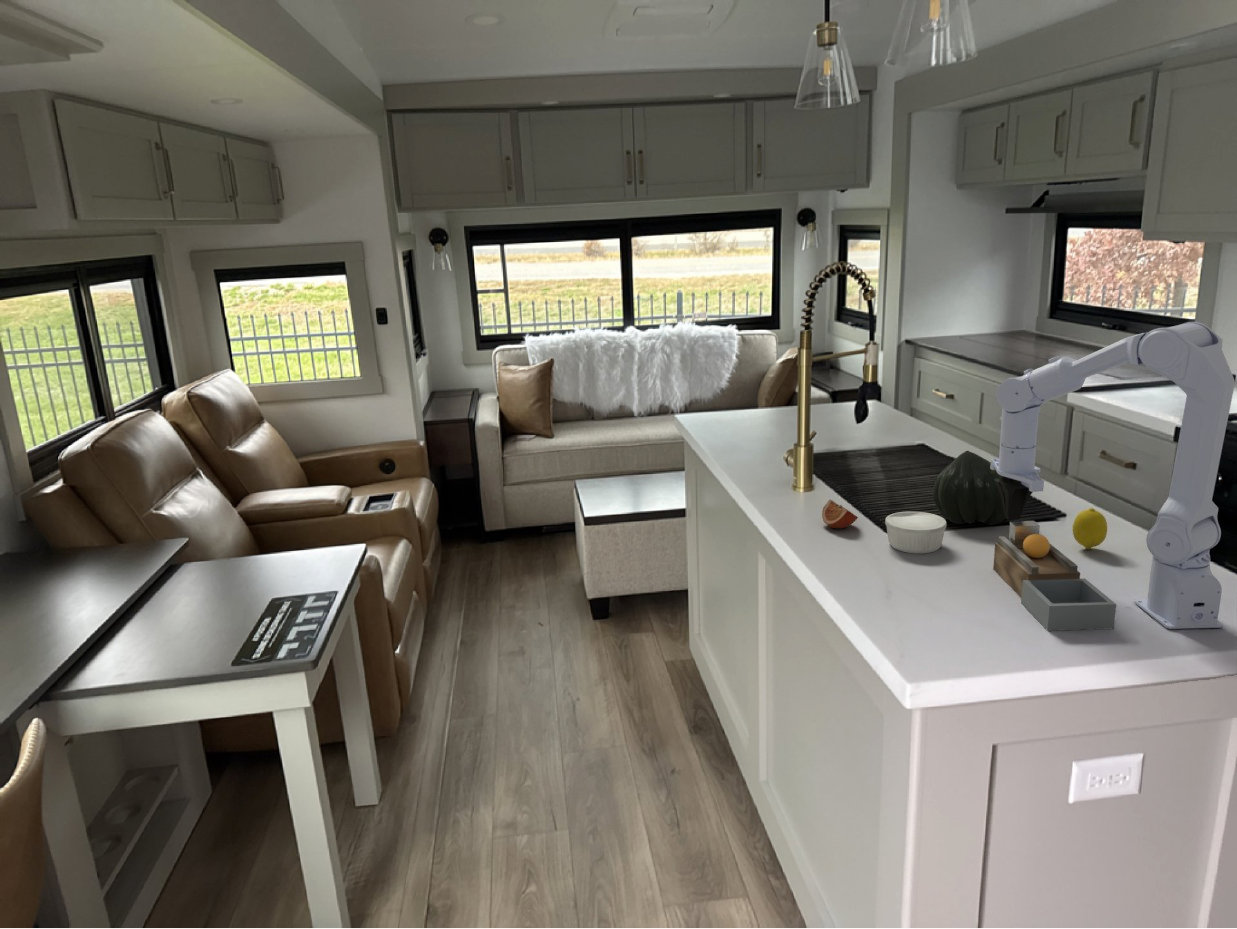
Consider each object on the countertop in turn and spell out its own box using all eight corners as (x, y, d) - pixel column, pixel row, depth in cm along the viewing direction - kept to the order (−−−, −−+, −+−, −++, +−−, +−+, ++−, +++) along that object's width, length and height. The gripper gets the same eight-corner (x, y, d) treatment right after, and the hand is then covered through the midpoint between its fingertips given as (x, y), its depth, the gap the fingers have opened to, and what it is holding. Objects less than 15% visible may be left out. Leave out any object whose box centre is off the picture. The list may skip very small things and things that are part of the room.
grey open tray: (1113, 628, 123) (1116, 604, 122) (1047, 630, 124) (1049, 606, 123) (1082, 601, 133) (1084, 578, 132) (1021, 603, 133) (1022, 580, 132)
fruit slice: (816, 522, 176) (816, 499, 174) (845, 518, 177) (845, 496, 176) (833, 535, 168) (833, 511, 166) (863, 531, 169) (864, 508, 168)
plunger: (1038, 547, 142) (1039, 525, 141) (1014, 548, 142) (1015, 526, 141) (1032, 542, 144) (1033, 520, 143) (1008, 543, 144) (1010, 521, 143)
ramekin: (918, 531, 167) (919, 507, 165) (958, 549, 157) (960, 523, 155) (872, 541, 163) (873, 516, 162) (910, 560, 153) (911, 533, 152)
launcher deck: (1077, 601, 133) (1080, 565, 131) (1026, 603, 133) (1028, 567, 132) (1039, 567, 146) (1042, 535, 144) (993, 569, 147) (995, 536, 145)
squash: (1007, 513, 158) (1013, 444, 164) (925, 508, 165) (933, 442, 171) (1011, 541, 169) (1016, 475, 175) (934, 535, 177) (941, 472, 182)
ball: (1053, 561, 136) (1055, 538, 135) (1028, 562, 137) (1029, 539, 136) (1042, 552, 140) (1044, 530, 139) (1018, 553, 140) (1019, 530, 139)
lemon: (1109, 555, 150) (1114, 513, 148) (1076, 554, 151) (1080, 513, 149) (1099, 544, 155) (1103, 503, 153) (1066, 543, 156) (1070, 503, 154)
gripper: (1064, 453, 137) (1057, 530, 140) (1019, 433, 151) (1013, 504, 154) (1022, 456, 136) (1016, 533, 140) (981, 436, 150) (976, 507, 154)
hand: (1012, 518), depth 147 cm, fingers closed
